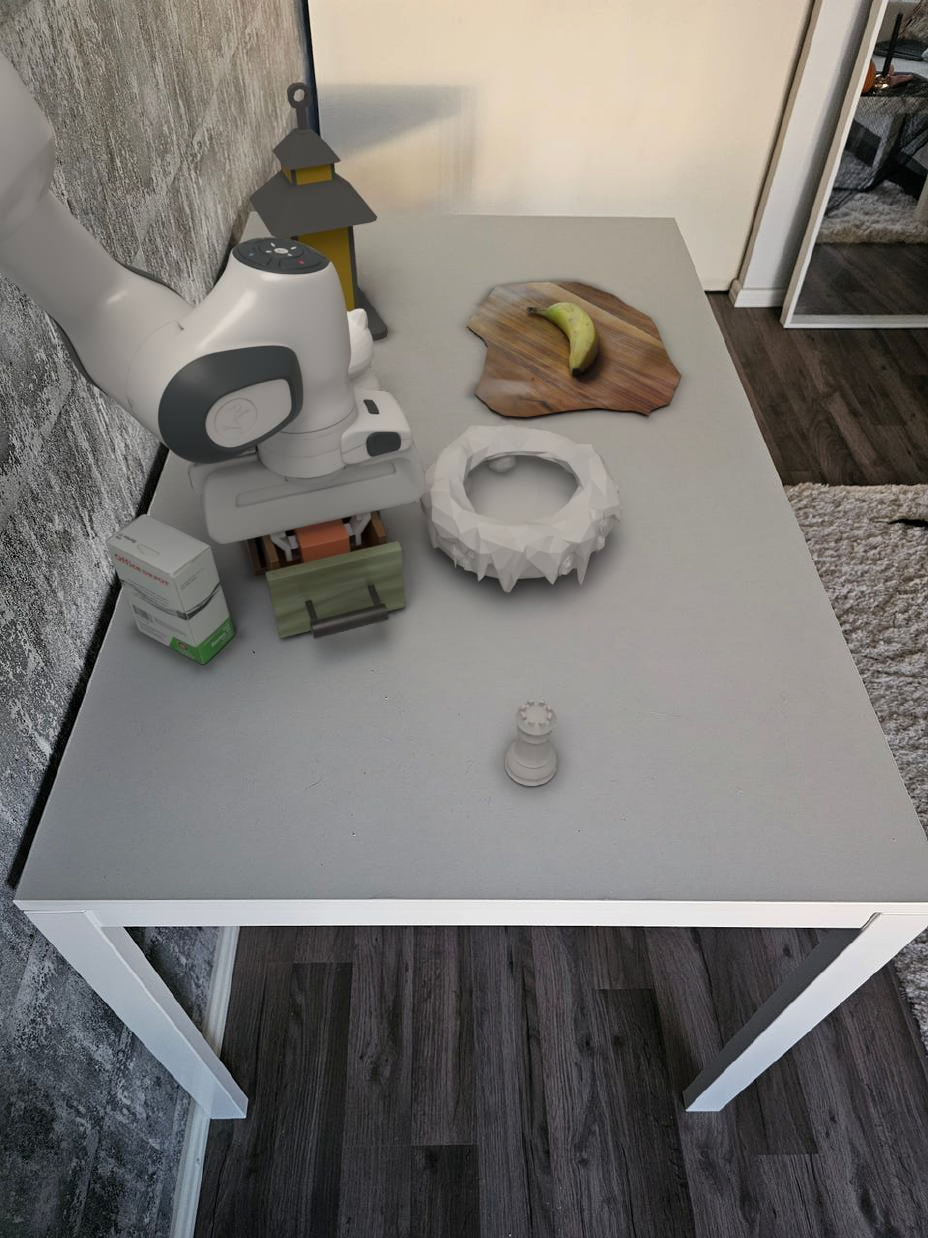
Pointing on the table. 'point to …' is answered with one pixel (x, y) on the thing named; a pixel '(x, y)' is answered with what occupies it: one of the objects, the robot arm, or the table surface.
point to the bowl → (519, 503)
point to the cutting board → (569, 351)
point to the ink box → (172, 587)
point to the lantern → (317, 205)
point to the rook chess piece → (532, 745)
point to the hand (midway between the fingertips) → (323, 549)
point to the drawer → (336, 585)
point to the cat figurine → (361, 352)
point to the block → (322, 540)
